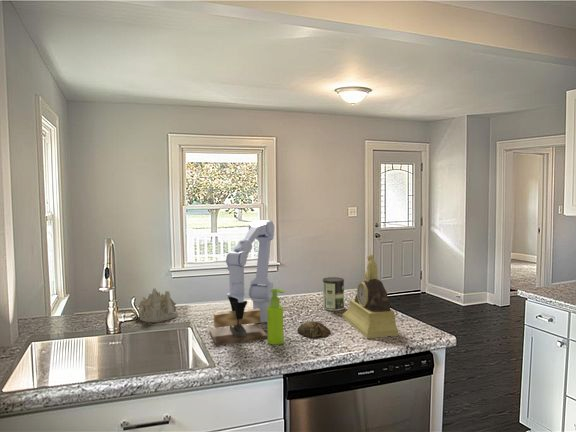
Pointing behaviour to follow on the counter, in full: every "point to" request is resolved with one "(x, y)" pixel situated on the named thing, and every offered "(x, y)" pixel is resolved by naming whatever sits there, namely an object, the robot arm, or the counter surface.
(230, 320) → the oak beam
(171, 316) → the sand castle
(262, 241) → the robot arm
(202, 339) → the counter surface
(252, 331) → the board
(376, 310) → the decorative clock
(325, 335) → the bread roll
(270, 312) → the soap dispenser
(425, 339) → the counter surface
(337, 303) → the coffee can
